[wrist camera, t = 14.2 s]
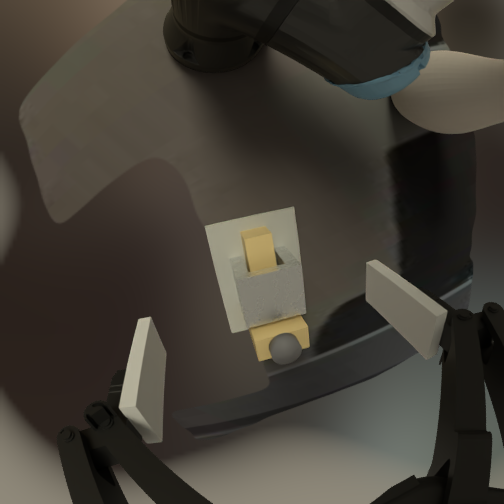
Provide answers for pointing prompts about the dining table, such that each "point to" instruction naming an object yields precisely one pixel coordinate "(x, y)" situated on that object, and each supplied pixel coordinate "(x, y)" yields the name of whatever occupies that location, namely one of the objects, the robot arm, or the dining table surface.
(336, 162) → the dining table surface
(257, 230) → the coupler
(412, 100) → the vase
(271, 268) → the grey slotted block
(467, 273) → the dining table surface
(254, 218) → the mat
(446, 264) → the dining table surface
